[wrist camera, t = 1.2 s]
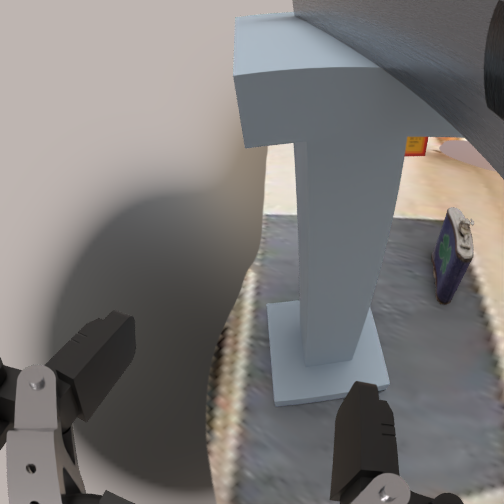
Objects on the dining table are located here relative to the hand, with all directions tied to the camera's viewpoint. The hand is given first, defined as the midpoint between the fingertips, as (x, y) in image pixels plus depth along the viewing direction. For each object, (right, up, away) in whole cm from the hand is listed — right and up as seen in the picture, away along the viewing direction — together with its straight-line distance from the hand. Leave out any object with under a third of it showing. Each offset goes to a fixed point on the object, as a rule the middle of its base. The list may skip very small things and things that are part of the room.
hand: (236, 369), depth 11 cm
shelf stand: (+9, -7, +24) cm, 27 cm away
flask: (+27, 0, +29) cm, 39 cm away
